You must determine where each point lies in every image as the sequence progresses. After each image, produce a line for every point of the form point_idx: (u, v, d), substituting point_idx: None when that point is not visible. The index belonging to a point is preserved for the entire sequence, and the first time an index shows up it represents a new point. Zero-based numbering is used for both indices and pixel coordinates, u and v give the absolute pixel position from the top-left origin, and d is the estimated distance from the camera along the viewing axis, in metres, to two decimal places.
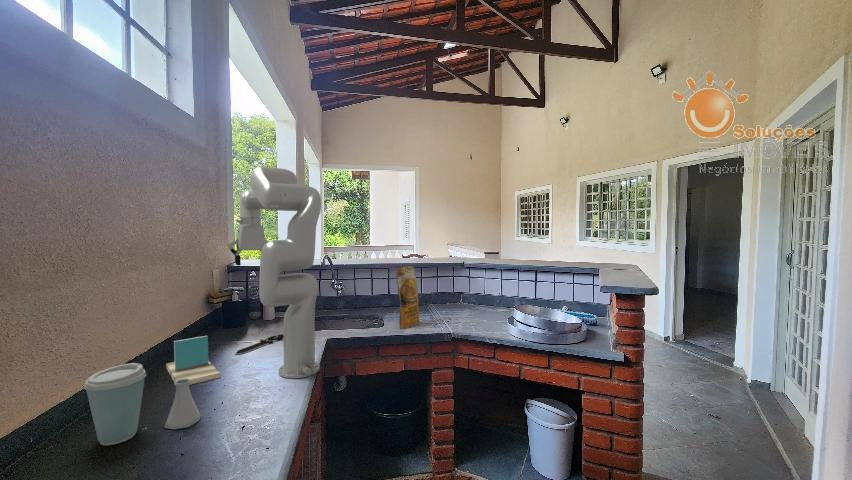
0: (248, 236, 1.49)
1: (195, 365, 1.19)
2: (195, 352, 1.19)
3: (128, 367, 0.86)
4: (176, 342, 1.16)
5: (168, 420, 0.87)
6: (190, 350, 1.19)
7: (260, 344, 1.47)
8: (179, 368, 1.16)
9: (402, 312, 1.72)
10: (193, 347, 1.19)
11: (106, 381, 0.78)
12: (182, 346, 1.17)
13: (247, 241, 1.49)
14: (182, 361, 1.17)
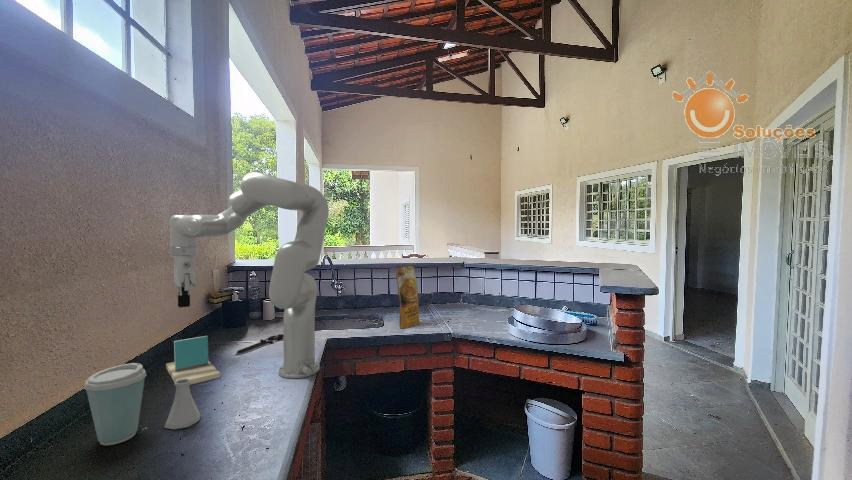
0: None
1: (195, 365, 1.19)
2: (195, 352, 1.19)
3: (128, 367, 0.86)
4: (176, 342, 1.16)
5: (168, 420, 0.87)
6: (190, 350, 1.19)
7: (260, 344, 1.47)
8: (179, 368, 1.16)
9: (402, 312, 1.72)
10: (193, 347, 1.19)
11: (106, 381, 0.78)
12: (182, 346, 1.17)
13: None
14: (182, 361, 1.17)
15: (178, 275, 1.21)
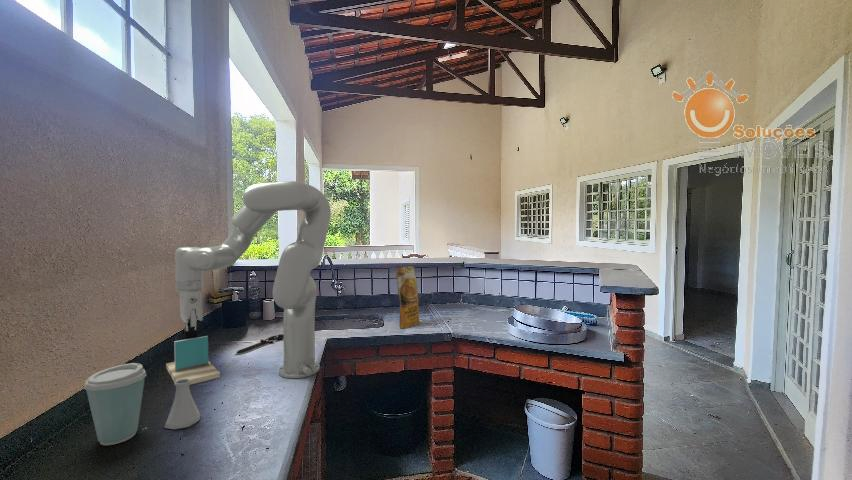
0: None
1: (195, 365, 1.19)
2: (195, 352, 1.19)
3: (128, 367, 0.86)
4: (176, 342, 1.16)
5: (168, 420, 0.87)
6: (190, 351, 1.18)
7: (260, 344, 1.47)
8: (179, 368, 1.16)
9: (402, 312, 1.72)
10: (193, 347, 1.19)
11: (106, 381, 0.78)
12: (182, 346, 1.17)
13: None
14: (182, 361, 1.17)
15: (184, 311, 1.16)
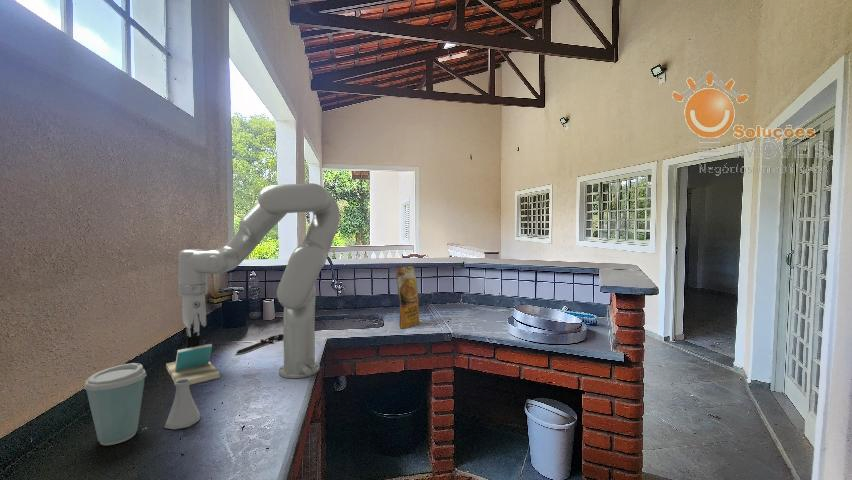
0: None
1: (195, 366, 1.19)
2: (197, 358, 1.18)
3: (128, 367, 0.86)
4: (180, 353, 1.12)
5: (168, 420, 0.87)
6: (192, 357, 1.16)
7: (260, 344, 1.47)
8: (179, 369, 1.16)
9: (402, 312, 1.72)
10: (196, 355, 1.16)
11: (106, 381, 0.78)
12: (185, 355, 1.14)
13: None
14: (183, 365, 1.16)
15: (187, 316, 1.11)
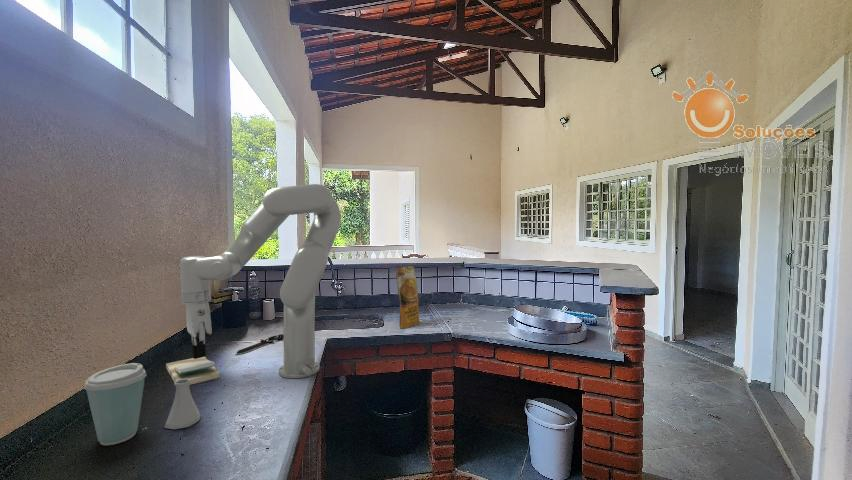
0: None
1: None
2: None
3: (128, 367, 0.86)
4: None
5: (168, 420, 0.87)
6: None
7: (261, 344, 1.47)
8: None
9: (402, 312, 1.72)
10: None
11: (106, 381, 0.78)
12: None
13: None
14: None
15: (192, 324, 1.09)
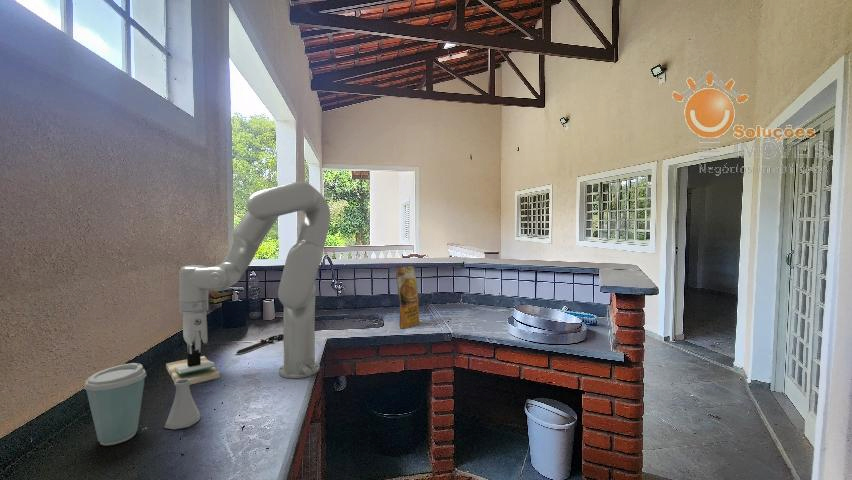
0: None
1: None
2: None
3: (128, 367, 0.86)
4: (182, 373, 1.10)
5: (168, 420, 0.87)
6: None
7: (261, 344, 1.47)
8: None
9: (402, 312, 1.72)
10: None
11: (106, 381, 0.78)
12: None
13: None
14: None
15: (188, 333, 1.10)
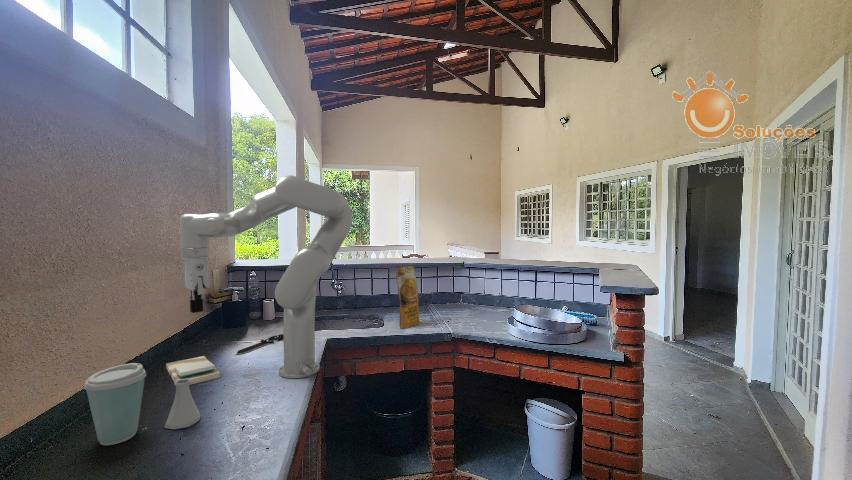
0: None
1: None
2: None
3: (128, 367, 0.86)
4: None
5: (168, 420, 0.87)
6: None
7: (261, 344, 1.47)
8: None
9: (402, 312, 1.72)
10: None
11: (106, 381, 0.78)
12: None
13: None
14: None
15: (191, 278, 1.13)
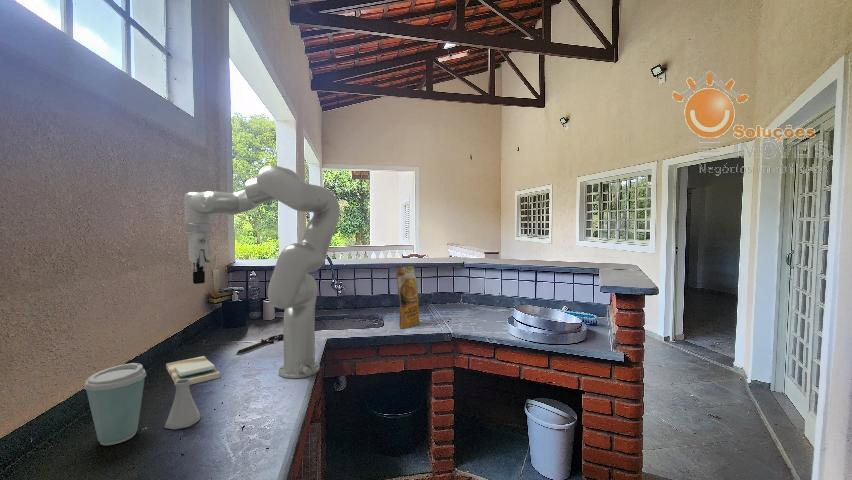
0: None
1: None
2: None
3: (128, 367, 0.86)
4: None
5: (168, 420, 0.87)
6: None
7: (261, 344, 1.47)
8: None
9: (402, 312, 1.72)
10: None
11: (106, 381, 0.78)
12: None
13: None
14: None
15: (193, 251, 1.23)
